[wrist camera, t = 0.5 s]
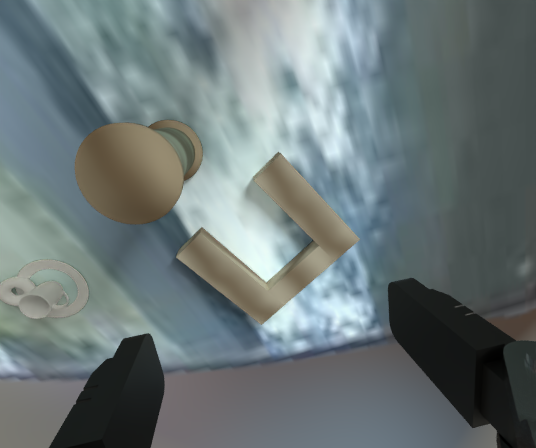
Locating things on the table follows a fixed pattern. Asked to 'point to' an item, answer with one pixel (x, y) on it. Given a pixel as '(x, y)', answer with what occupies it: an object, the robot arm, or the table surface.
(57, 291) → the white curved piece
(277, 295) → the tan u-shaped bracket
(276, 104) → the table surface
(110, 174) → the bobbin
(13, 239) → the table surface
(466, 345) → the robot arm
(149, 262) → the table surface
